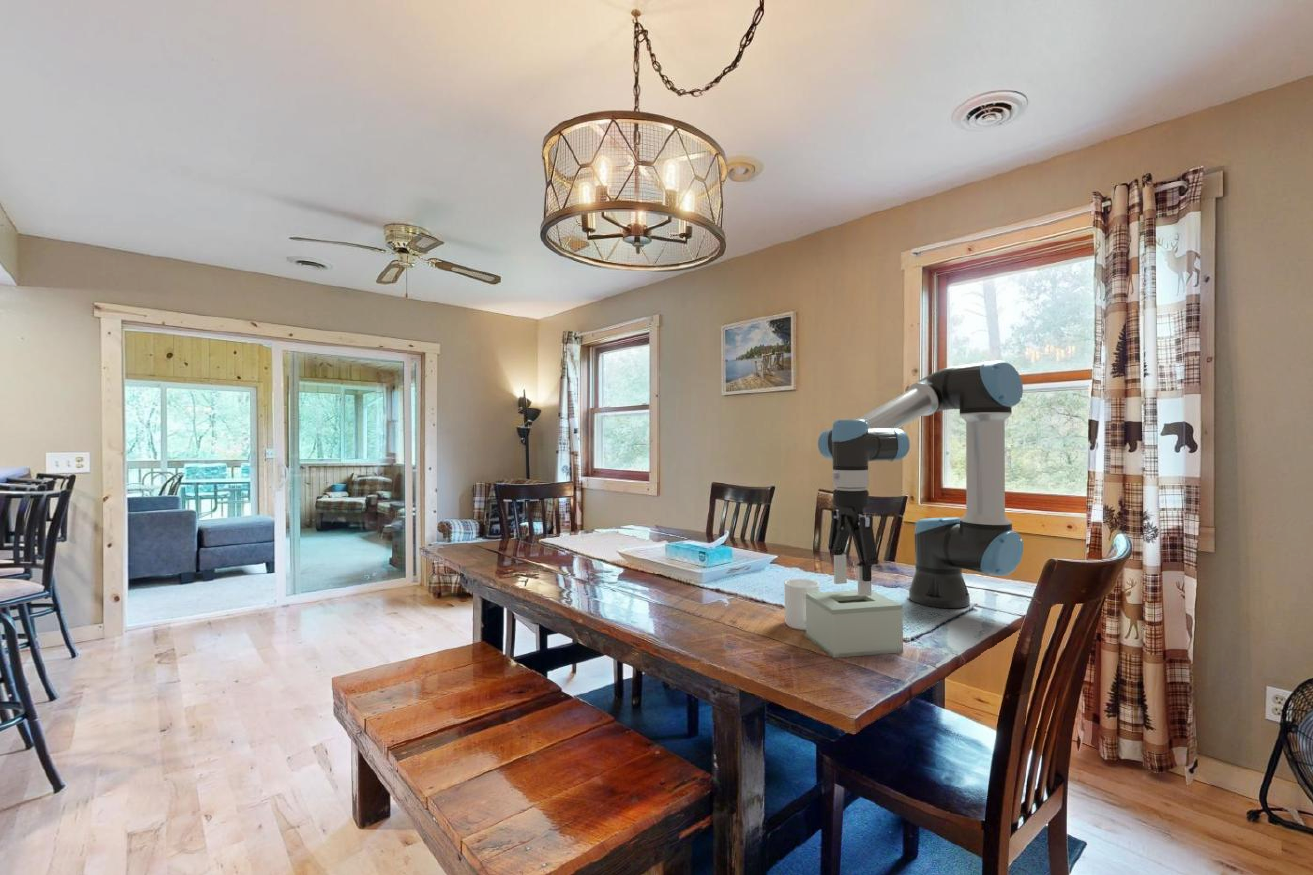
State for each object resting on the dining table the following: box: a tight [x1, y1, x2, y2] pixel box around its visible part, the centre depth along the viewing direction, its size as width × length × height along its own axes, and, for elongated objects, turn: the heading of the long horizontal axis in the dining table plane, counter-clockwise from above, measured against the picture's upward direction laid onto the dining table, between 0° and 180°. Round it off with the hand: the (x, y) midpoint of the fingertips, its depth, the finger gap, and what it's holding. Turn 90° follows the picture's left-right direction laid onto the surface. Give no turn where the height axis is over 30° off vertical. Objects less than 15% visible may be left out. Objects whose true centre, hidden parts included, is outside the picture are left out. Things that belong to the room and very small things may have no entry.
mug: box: [784, 578, 820, 631], centre depth 137 cm, size 12×8×10 cm
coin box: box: [805, 589, 904, 659], centre depth 126 cm, size 16×13×10 cm
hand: (852, 589), depth 126 cm, fingers open, 10 cm apart
